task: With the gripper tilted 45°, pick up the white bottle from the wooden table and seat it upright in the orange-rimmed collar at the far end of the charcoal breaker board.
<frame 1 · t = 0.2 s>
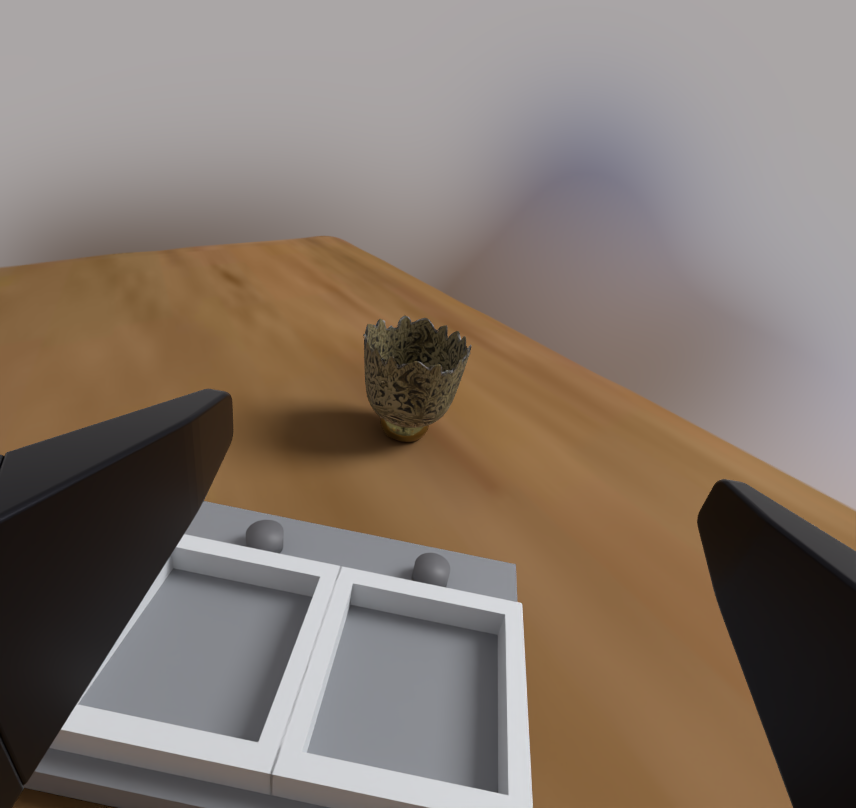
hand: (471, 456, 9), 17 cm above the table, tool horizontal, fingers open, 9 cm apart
breaker board: (227, 640, 23), on the table
cup: (402, 433, 39), on the table
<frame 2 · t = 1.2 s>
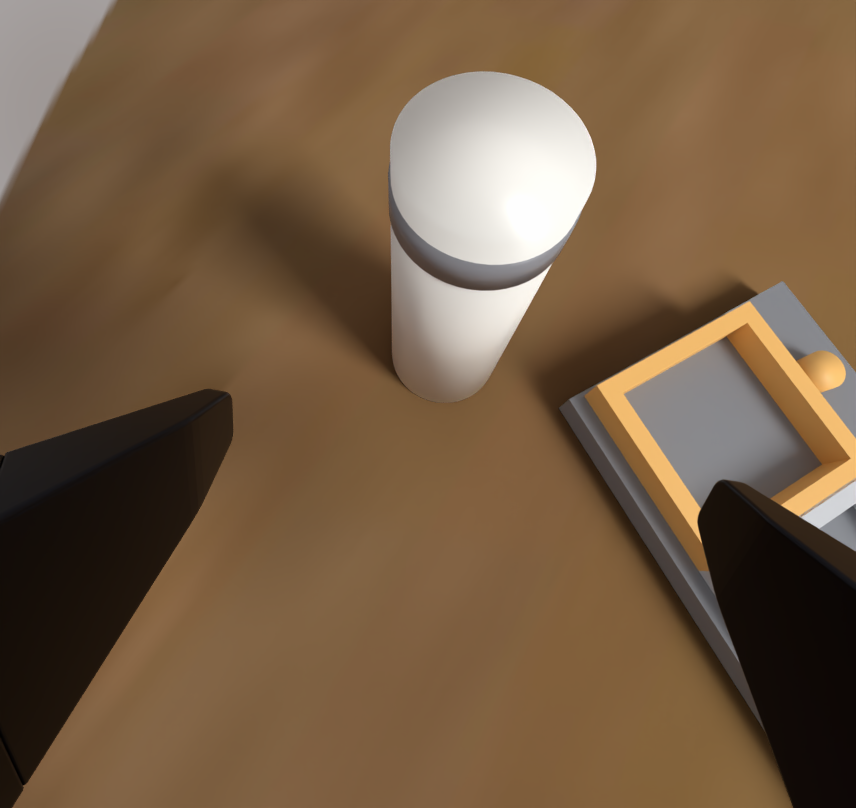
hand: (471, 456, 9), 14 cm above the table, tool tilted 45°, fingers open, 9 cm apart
breaker board: (835, 588, 23), on the table
white bottle: (443, 353, 25), on the table
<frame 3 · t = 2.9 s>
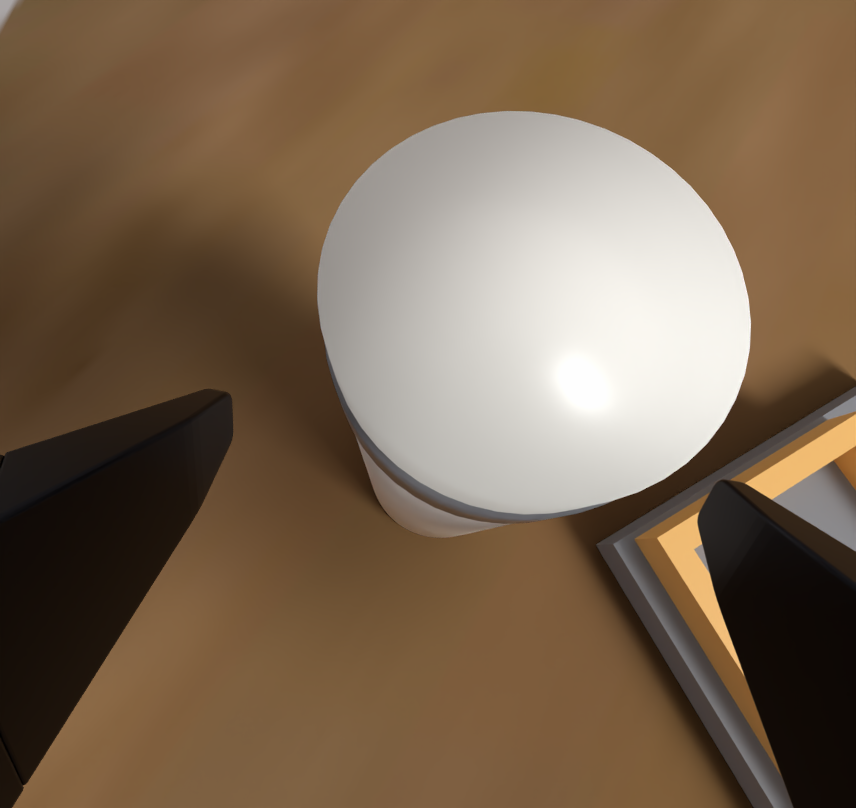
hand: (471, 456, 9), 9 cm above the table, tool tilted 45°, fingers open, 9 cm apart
white bottle: (439, 466, 18), on the table
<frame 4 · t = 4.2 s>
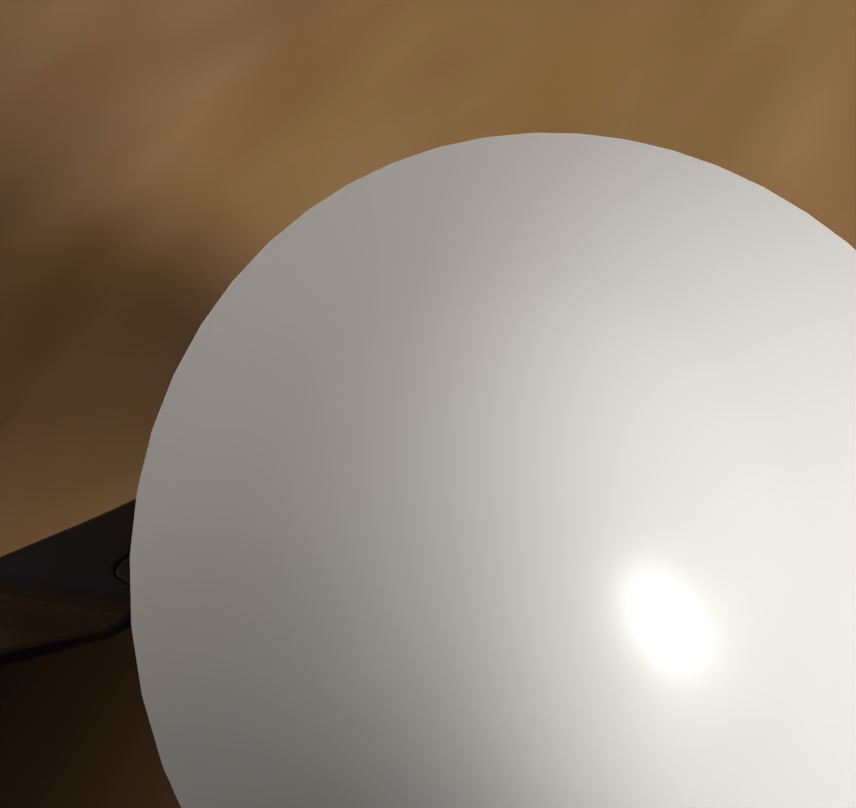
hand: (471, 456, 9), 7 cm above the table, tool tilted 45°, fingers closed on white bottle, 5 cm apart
white bottle: (433, 538, 15), on the table, touching gripper
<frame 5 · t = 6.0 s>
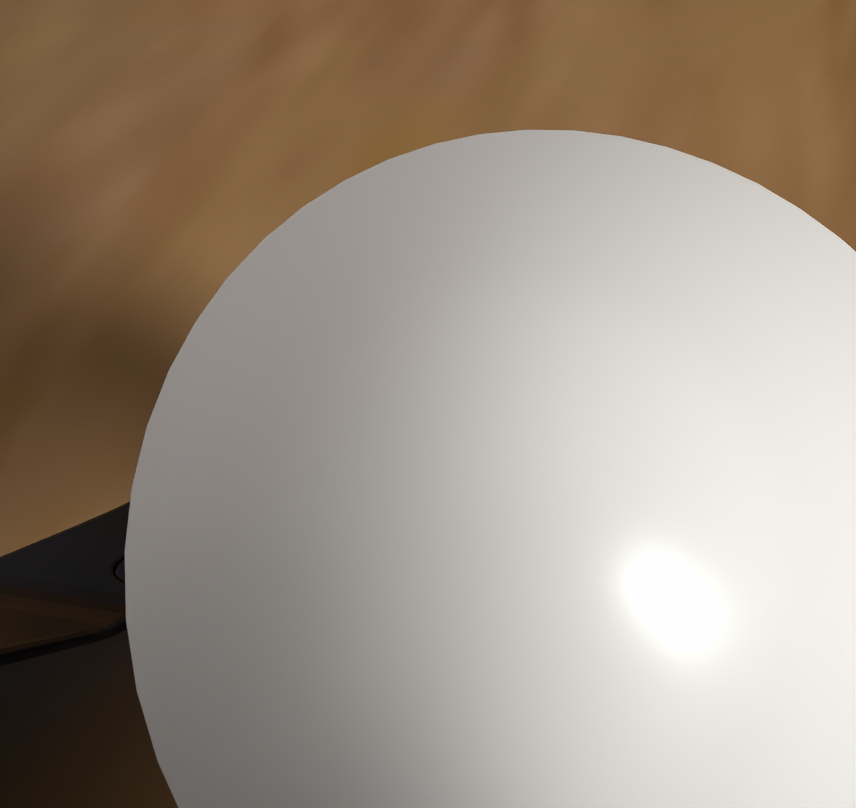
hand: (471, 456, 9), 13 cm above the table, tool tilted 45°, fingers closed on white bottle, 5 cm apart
white bottle: (432, 537, 15), point 6 cm above the table, touching gripper
when the fingers open (9 cm above the table, at t = 7.9 s): white bottle stays where it is, resting on breaker board.
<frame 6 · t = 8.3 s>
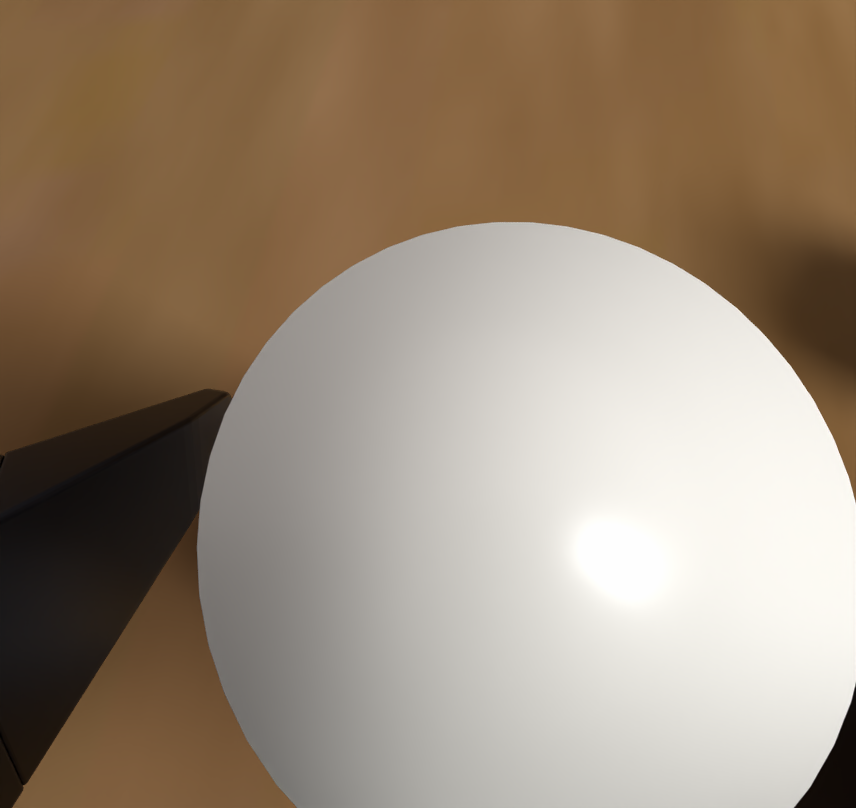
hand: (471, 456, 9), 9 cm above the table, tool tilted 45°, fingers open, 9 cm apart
white bottle: (430, 539, 16), point 2 cm above the table, touching breaker board
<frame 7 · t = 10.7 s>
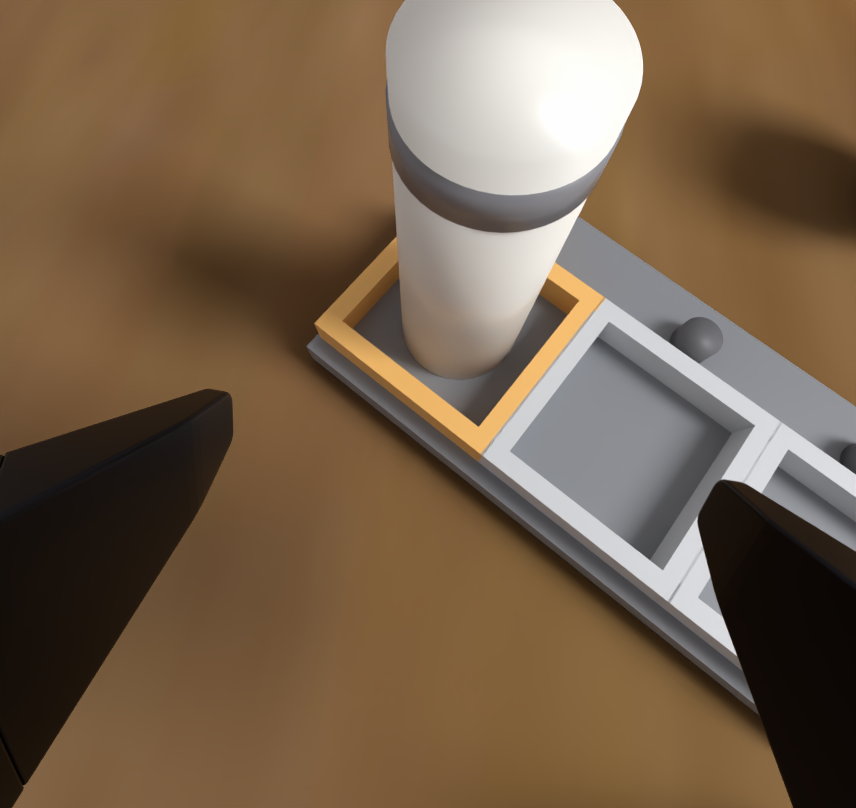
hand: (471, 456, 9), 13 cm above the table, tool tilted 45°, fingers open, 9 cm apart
breaker board: (623, 425, 23), on the table
white bottle: (459, 325, 22), point 2 cm above the table, touching breaker board
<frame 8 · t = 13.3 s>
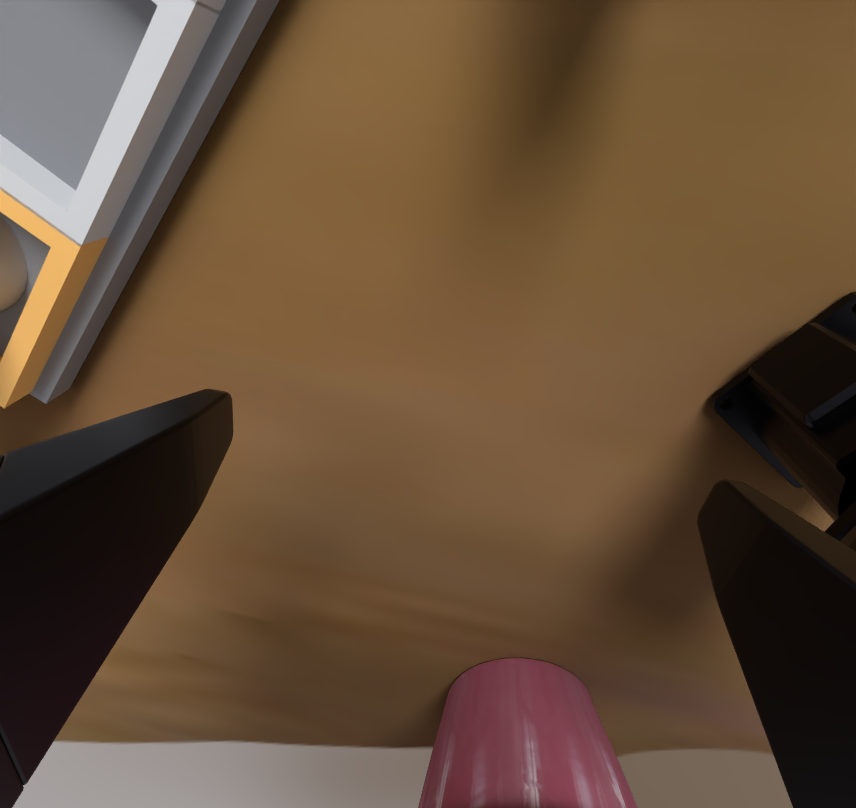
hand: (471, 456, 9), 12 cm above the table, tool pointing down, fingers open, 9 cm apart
breaker board: (22, 5, 17), on the table
plant pot: (516, 697, 33), on the table
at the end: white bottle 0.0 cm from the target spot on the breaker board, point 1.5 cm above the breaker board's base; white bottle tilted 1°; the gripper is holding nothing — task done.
